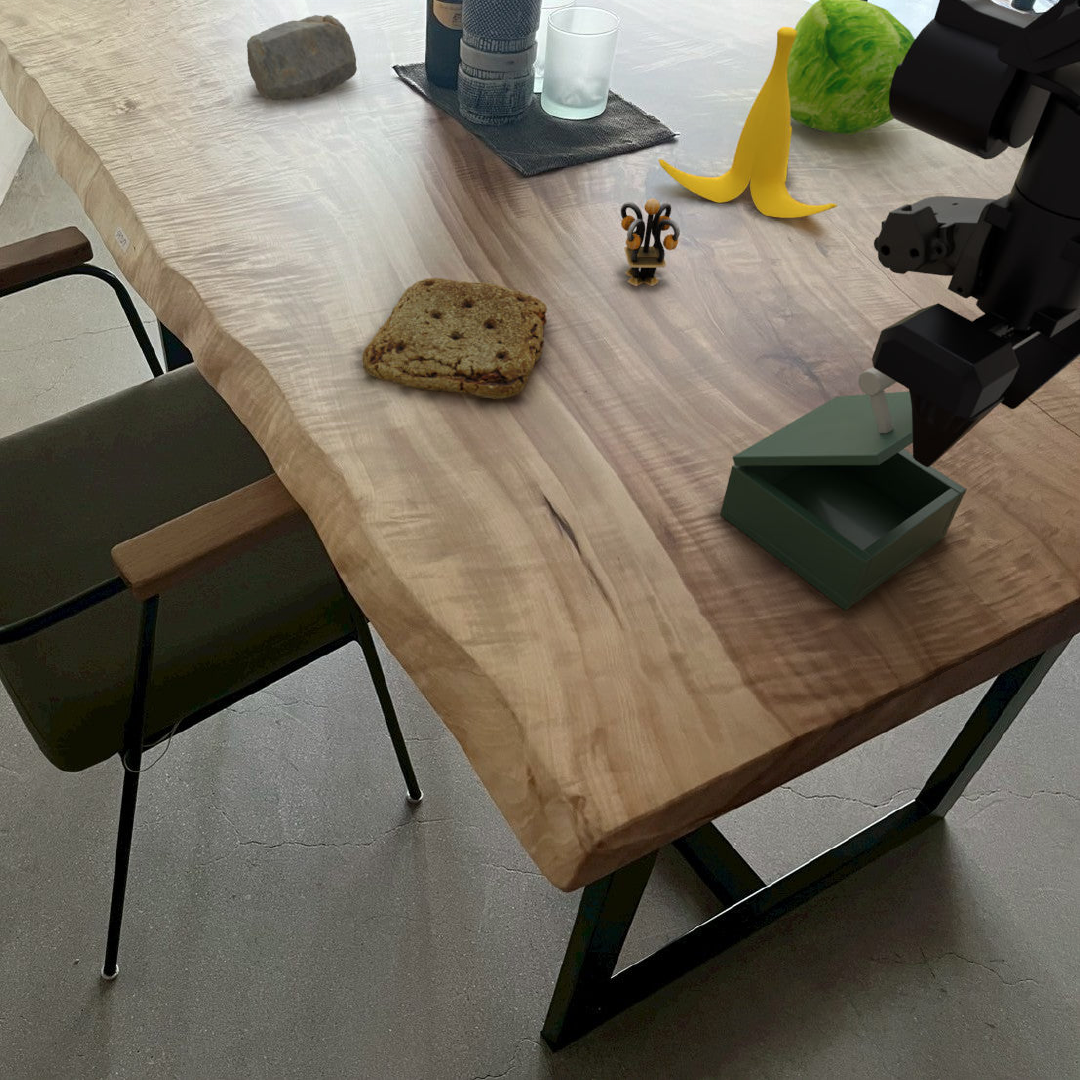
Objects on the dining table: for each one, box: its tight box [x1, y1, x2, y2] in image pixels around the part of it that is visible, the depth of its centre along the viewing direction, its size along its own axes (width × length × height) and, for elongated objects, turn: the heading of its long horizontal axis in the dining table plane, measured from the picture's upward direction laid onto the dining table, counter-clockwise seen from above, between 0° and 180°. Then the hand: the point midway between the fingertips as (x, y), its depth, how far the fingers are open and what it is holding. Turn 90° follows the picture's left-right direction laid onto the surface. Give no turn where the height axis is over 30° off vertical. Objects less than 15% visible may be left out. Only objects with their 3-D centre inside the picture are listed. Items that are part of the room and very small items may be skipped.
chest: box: [720, 448, 967, 611], centre depth 75 cm, size 12×12×5 cm
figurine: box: [620, 198, 681, 287], centre depth 96 cm, size 5×5×8 cm
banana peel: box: [658, 26, 838, 219], centre depth 105 cm, size 17×19×17 cm
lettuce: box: [787, 0, 916, 136], centre depth 121 cm, size 15×20×14 cm
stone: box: [246, 14, 358, 102], centre depth 121 cm, size 12×8×8 cm, turn 125°
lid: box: [732, 365, 913, 466], centre depth 70 cm, size 12×12×5 cm
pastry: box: [361, 277, 548, 400], centre depth 88 cm, size 17×17×3 cm
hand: (966, 432), depth 64 cm, fingers open, 9 cm apart
